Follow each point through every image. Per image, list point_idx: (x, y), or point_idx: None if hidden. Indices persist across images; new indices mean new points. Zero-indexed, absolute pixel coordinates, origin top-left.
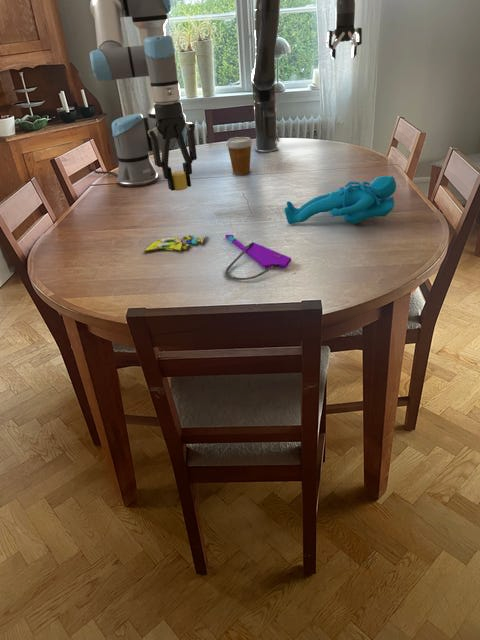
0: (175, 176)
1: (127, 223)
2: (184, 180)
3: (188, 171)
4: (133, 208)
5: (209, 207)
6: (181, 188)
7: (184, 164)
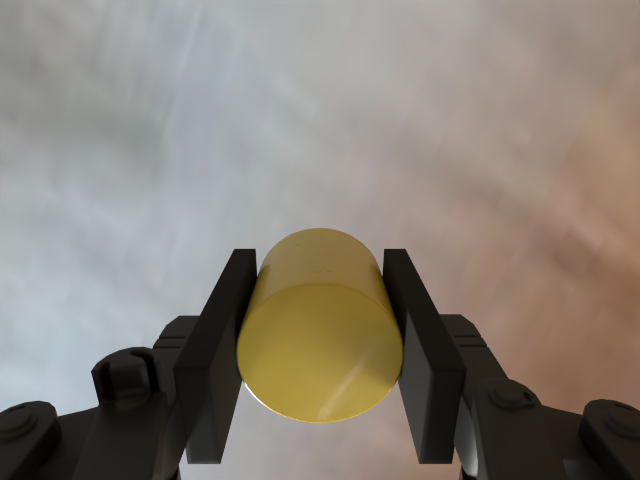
0: (373, 295)
1: (562, 317)
2: (285, 262)
3: (208, 316)
4: (457, 455)
5: (158, 269)
6: (328, 233)
7: (215, 406)
